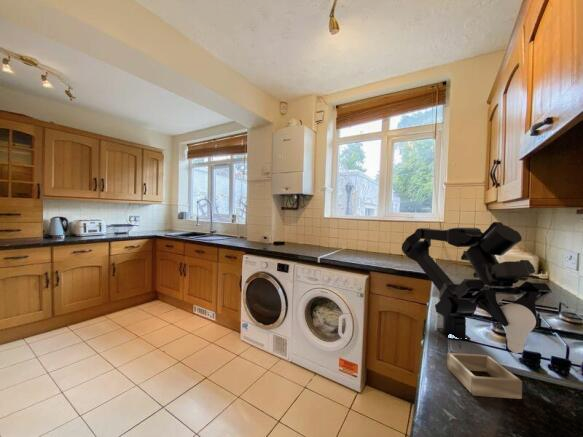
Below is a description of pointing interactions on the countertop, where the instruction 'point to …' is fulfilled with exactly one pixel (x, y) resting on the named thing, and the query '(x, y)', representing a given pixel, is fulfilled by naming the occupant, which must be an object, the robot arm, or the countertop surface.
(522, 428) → the countertop surface
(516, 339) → the lightbulb
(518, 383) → the tray
